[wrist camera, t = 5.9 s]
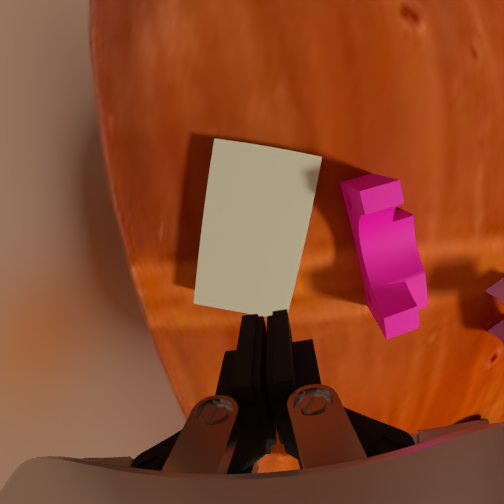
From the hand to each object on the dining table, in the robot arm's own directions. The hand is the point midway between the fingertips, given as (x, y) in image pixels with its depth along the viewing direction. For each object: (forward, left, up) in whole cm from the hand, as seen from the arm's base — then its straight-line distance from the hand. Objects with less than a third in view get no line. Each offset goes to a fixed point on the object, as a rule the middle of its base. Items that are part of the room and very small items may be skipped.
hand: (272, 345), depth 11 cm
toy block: (+4, +12, -22) cm, 25 cm away
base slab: (0, -2, -22) cm, 22 cm away
